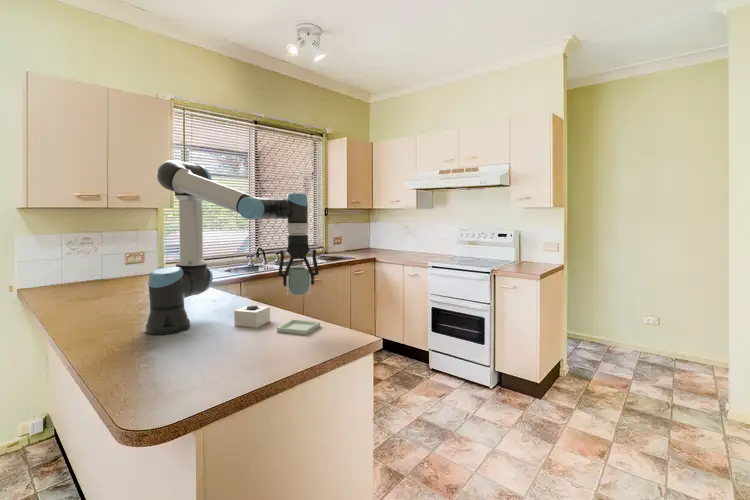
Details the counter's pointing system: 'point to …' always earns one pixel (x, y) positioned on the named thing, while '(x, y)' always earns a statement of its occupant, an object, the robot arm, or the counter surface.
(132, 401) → the counter surface
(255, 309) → the grey oval solid
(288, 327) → the tray
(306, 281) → the cup
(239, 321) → the housing
